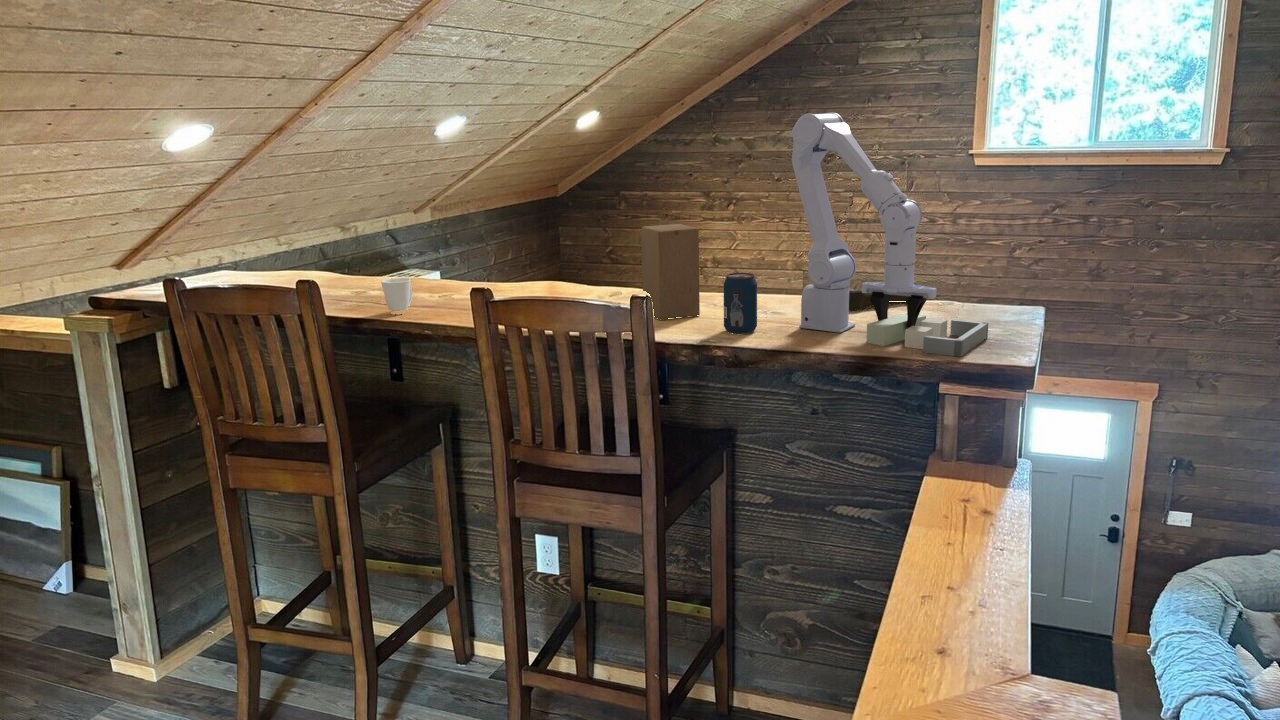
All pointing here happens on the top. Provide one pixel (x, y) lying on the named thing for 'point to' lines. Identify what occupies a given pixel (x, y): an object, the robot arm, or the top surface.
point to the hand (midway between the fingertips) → (896, 330)
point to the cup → (397, 293)
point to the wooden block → (671, 269)
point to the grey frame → (969, 339)
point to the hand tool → (863, 300)
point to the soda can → (740, 303)
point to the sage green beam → (889, 330)
